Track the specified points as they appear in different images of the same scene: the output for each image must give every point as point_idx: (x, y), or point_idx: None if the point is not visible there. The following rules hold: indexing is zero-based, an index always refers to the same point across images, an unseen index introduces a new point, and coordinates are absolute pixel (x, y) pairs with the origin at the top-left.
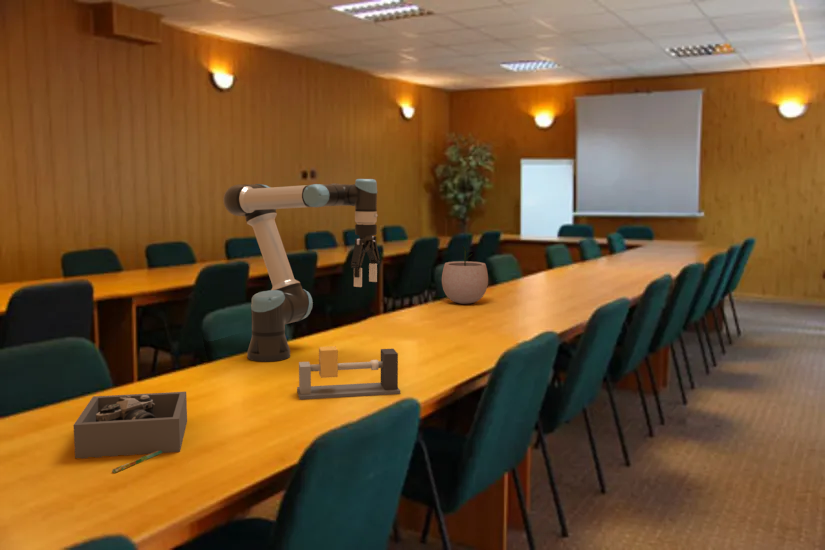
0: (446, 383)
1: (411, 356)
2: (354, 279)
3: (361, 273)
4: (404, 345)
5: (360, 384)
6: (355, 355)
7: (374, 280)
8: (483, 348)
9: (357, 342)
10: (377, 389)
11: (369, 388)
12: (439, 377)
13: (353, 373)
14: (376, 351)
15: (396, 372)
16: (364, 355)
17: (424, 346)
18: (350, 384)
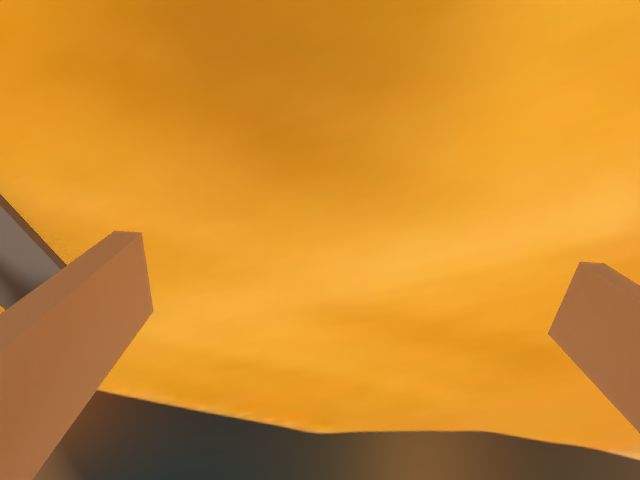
0: (173, 391)
1: (409, 267)
2: (56, 285)
3: (25, 455)
4: (564, 210)
5: (20, 238)
6: (387, 85)
7: (565, 329)
8: (529, 403)
9: (624, 7)
10: (8, 289)
11: (3, 270)
12: (214, 371)
13: (151, 166)
14: (462, 143)
15: None
16: (393, 120)
17: (549, 271)
18: (3, 213)
